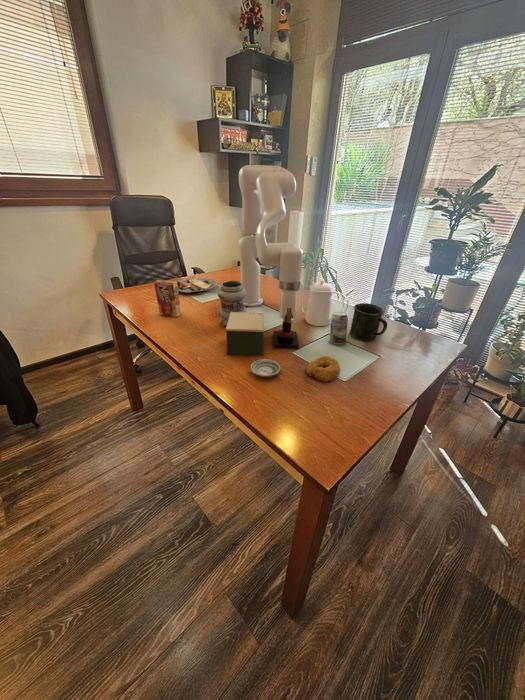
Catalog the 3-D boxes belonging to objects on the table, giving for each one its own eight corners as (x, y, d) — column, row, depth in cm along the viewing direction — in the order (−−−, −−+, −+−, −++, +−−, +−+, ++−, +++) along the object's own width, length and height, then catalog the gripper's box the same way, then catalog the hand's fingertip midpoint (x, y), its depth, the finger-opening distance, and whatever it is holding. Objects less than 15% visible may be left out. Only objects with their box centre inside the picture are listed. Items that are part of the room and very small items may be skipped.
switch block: (298, 348, 108) (299, 340, 106) (274, 348, 108) (274, 340, 106) (295, 335, 118) (296, 327, 116) (273, 334, 118) (274, 326, 116)
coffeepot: (294, 311, 138) (297, 272, 129) (346, 323, 129) (354, 281, 119) (285, 319, 130) (288, 278, 120) (340, 332, 120) (348, 289, 111)
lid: (263, 332, 98) (263, 329, 97) (225, 331, 98) (225, 328, 97) (263, 314, 110) (263, 312, 110) (230, 313, 110) (230, 311, 110)
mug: (360, 327, 125) (365, 301, 119) (389, 341, 115) (397, 313, 109) (343, 333, 120) (348, 306, 113) (372, 348, 109) (380, 320, 103)
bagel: (304, 364, 100) (306, 352, 97) (337, 366, 99) (339, 354, 96) (305, 381, 91) (307, 368, 89) (341, 384, 90) (343, 371, 88)
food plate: (164, 286, 165) (163, 280, 163) (200, 278, 179) (199, 273, 177) (187, 298, 150) (186, 292, 148) (224, 289, 163) (223, 283, 162)
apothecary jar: (213, 326, 123) (210, 285, 113) (228, 316, 132) (226, 277, 123) (238, 332, 118) (237, 290, 109) (251, 321, 128) (252, 281, 118)
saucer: (282, 366, 98) (282, 360, 96) (277, 384, 90) (277, 377, 88) (254, 362, 99) (254, 356, 98) (247, 379, 91) (247, 372, 90)
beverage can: (336, 348, 109) (341, 319, 103) (324, 339, 115) (328, 311, 109) (349, 344, 112) (354, 315, 106) (336, 336, 118) (341, 308, 111)
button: (291, 338, 110) (291, 333, 109) (280, 337, 110) (281, 333, 109) (290, 333, 113) (291, 329, 112) (280, 332, 113) (280, 328, 112)
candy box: (181, 313, 134) (177, 281, 126) (177, 317, 130) (172, 284, 122) (163, 311, 135) (158, 279, 127) (159, 315, 131) (153, 282, 124)
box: (262, 355, 104) (263, 331, 99) (227, 354, 104) (226, 330, 99) (263, 337, 115) (263, 314, 110) (231, 336, 115) (230, 314, 110)
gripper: (278, 278, 108) (276, 322, 117) (279, 291, 95) (277, 340, 104) (298, 278, 108) (294, 323, 117) (302, 292, 95) (298, 341, 104)
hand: (286, 331), depth 111 cm, fingers closed
